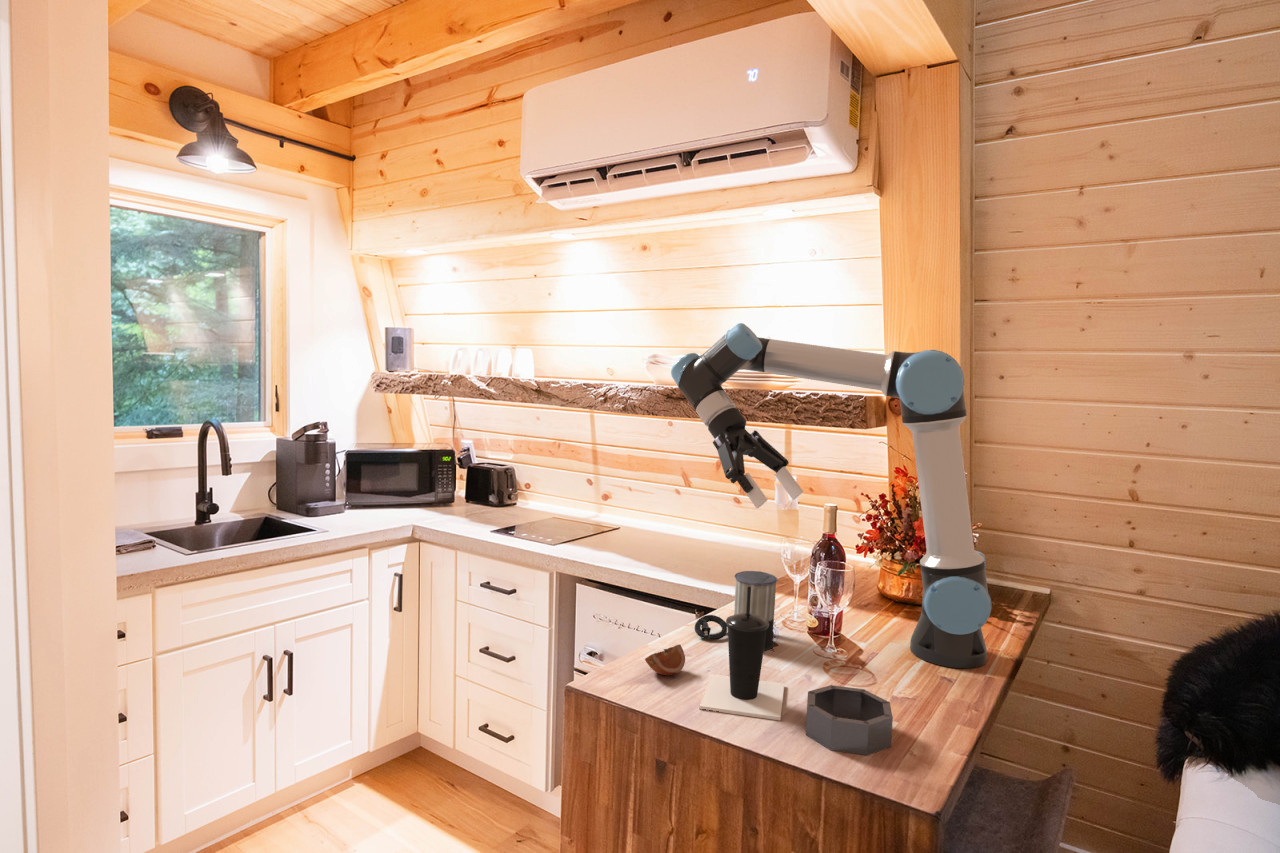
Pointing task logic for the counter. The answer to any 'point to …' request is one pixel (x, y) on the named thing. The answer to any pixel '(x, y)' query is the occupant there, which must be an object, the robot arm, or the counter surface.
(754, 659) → the drinking cup
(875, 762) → the counter surface
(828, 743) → the grey octagonal ring
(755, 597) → the milk frother
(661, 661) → the fruit slice
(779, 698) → the coaster
